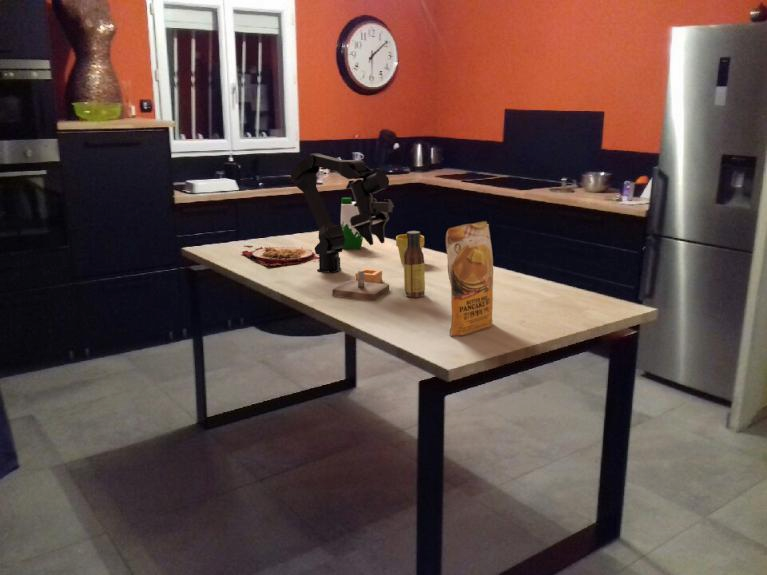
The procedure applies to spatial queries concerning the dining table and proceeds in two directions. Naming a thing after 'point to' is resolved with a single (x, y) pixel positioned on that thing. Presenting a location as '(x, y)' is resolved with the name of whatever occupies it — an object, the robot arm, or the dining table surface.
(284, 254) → the plate with food
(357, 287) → the brown peg board
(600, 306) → the dining table surface
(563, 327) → the dining table surface
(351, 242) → the milk carton
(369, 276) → the orange square ring
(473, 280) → the pancake mix bag
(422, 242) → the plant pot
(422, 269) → the sauce bottle
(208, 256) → the dining table surface
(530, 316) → the dining table surface
